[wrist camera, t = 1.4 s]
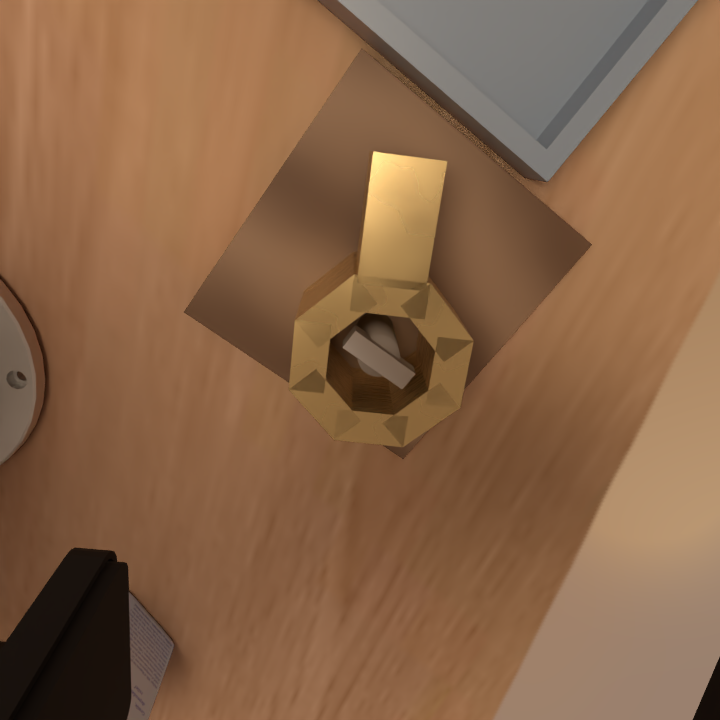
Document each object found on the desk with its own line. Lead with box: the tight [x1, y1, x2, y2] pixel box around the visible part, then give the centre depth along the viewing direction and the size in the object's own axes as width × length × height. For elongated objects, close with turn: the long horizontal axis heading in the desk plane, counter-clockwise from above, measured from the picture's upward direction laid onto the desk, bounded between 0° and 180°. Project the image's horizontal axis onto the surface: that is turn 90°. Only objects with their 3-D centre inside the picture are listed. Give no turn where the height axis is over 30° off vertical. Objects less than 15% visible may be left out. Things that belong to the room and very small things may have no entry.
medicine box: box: [127, 592, 174, 720], centre depth 28 cm, size 8×4×9 cm, turn 121°
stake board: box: [184, 49, 592, 459], centre depth 23 cm, size 13×12×5 cm
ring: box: [289, 151, 474, 447], centre depth 23 cm, size 10×6×4 cm, turn 173°
